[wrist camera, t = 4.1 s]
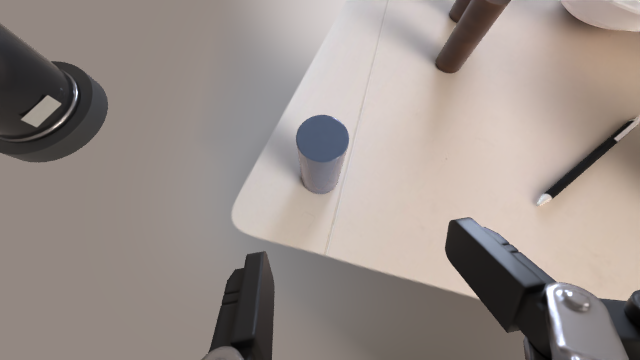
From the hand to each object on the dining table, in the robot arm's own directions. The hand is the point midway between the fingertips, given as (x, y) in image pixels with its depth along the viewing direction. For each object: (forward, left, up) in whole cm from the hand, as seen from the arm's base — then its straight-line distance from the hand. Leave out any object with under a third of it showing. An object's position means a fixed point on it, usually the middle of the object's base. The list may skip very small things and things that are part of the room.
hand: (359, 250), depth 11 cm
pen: (+24, +20, -15) cm, 35 cm away
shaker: (-4, +7, -15) cm, 17 cm away
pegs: (+6, +32, -15) cm, 36 cm away
